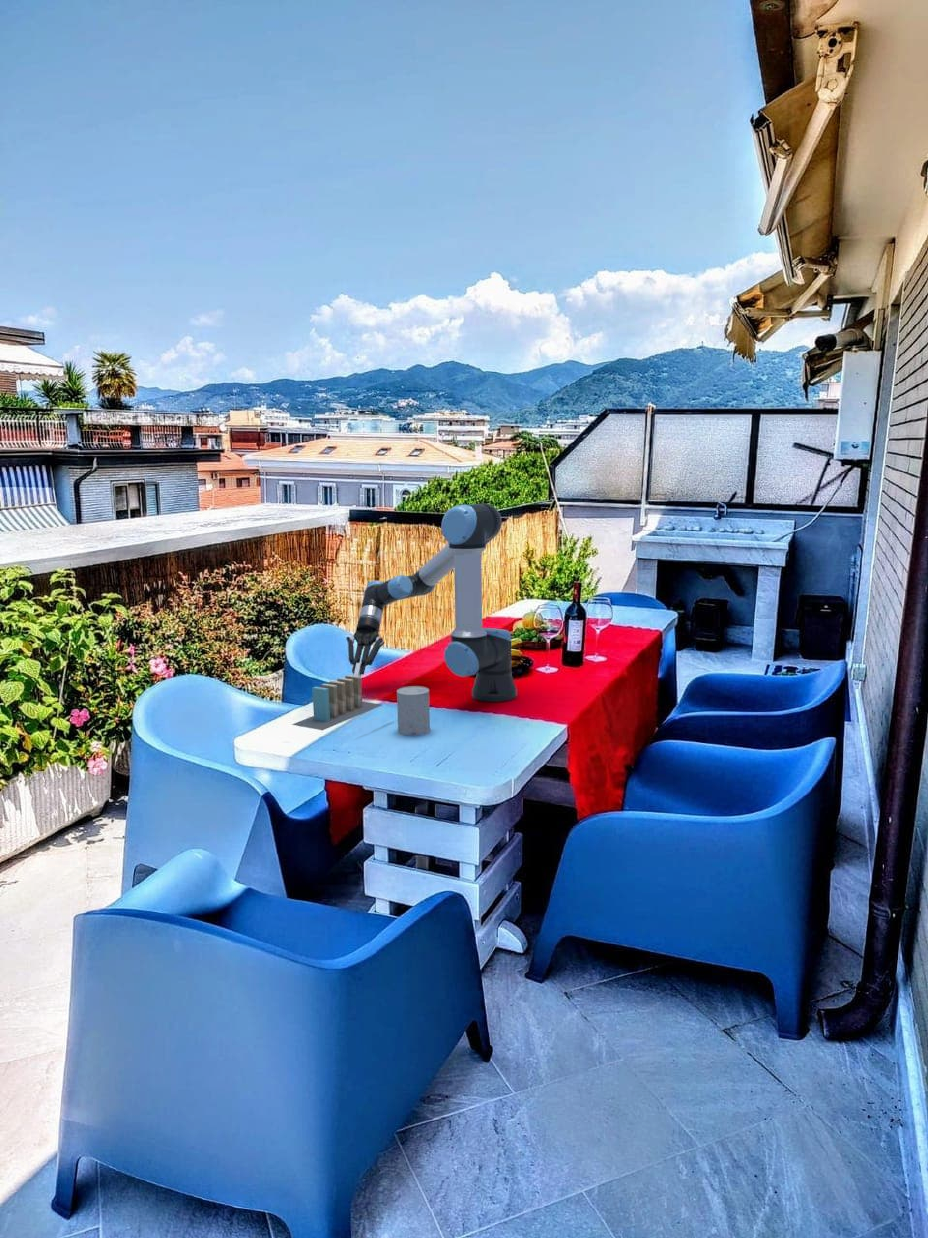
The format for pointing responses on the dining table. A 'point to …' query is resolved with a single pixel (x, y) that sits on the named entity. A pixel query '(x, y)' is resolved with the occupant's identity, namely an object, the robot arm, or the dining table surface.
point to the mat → (324, 725)
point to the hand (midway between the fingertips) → (355, 682)
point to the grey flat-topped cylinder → (413, 710)
